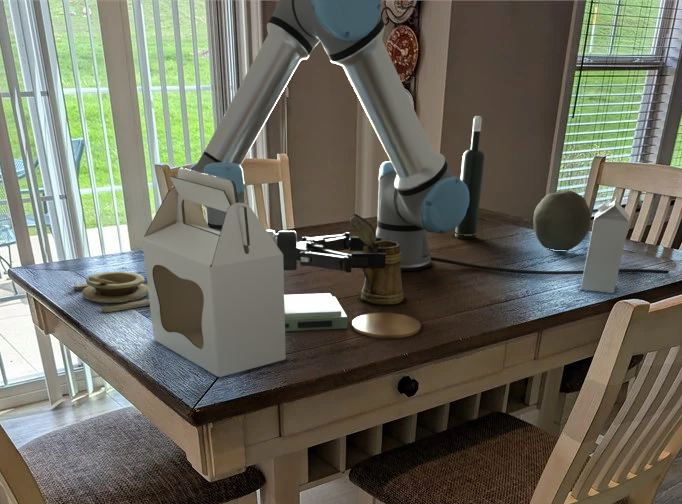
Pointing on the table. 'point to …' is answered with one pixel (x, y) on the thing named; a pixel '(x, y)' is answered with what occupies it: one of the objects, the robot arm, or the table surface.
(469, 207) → the wine bottle
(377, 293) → the wooden mug
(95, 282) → the tableware set
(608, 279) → the milk carton
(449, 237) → the table surface
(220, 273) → the gable box
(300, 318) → the kitchen scale
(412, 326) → the golden round disc
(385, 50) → the robot arm
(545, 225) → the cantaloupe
